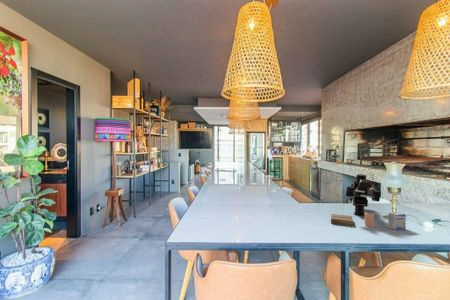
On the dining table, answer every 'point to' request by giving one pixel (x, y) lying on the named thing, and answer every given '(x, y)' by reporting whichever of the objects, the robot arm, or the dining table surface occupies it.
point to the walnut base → (341, 219)
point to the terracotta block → (369, 219)
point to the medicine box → (397, 221)
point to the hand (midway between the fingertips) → (364, 197)
